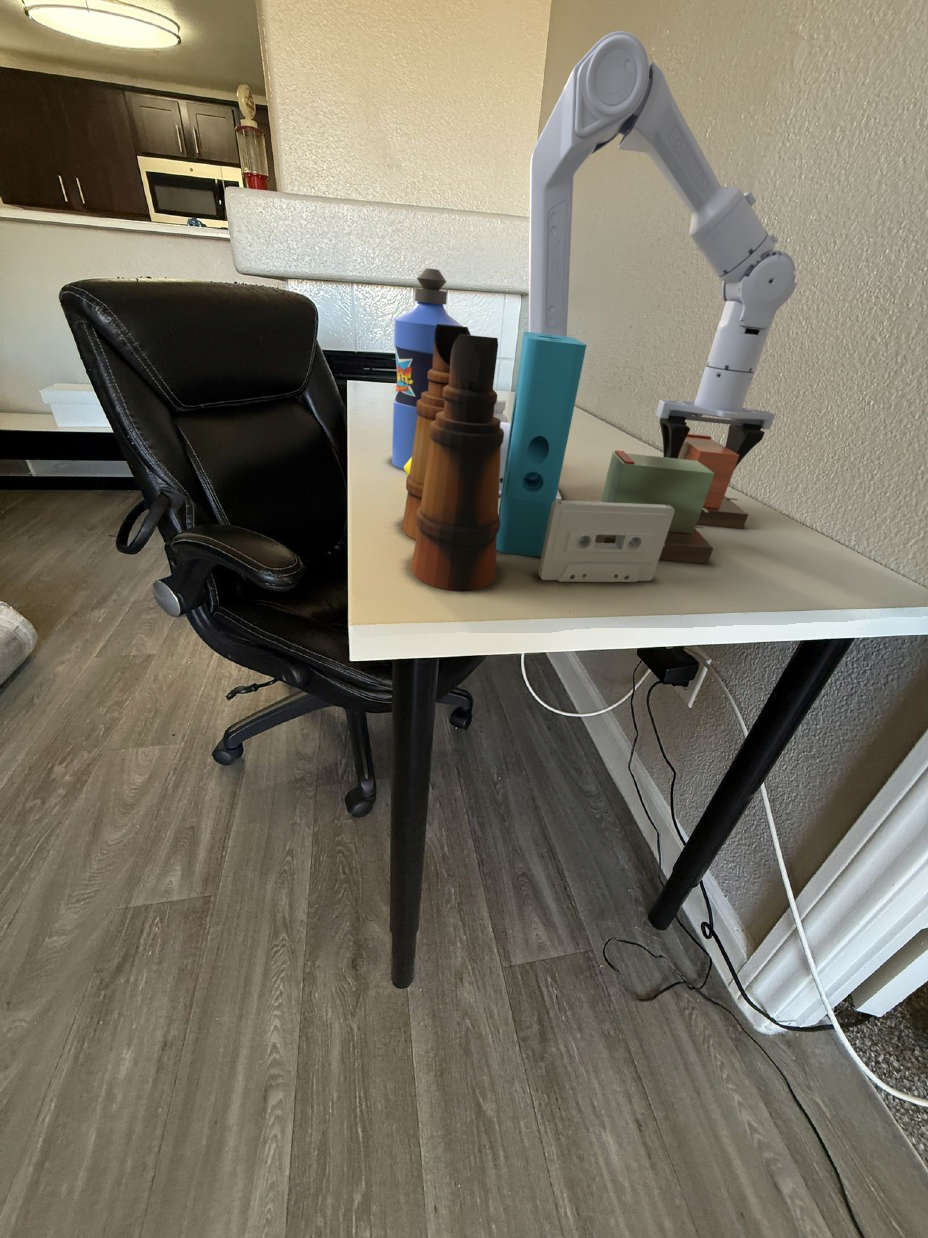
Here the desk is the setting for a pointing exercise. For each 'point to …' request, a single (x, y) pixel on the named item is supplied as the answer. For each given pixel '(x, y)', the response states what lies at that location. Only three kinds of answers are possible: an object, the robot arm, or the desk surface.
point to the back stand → (724, 515)
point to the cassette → (604, 562)
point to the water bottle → (415, 358)
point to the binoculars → (456, 465)
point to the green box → (659, 485)
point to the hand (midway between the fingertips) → (693, 477)
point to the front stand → (677, 546)
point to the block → (537, 439)
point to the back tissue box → (711, 464)
